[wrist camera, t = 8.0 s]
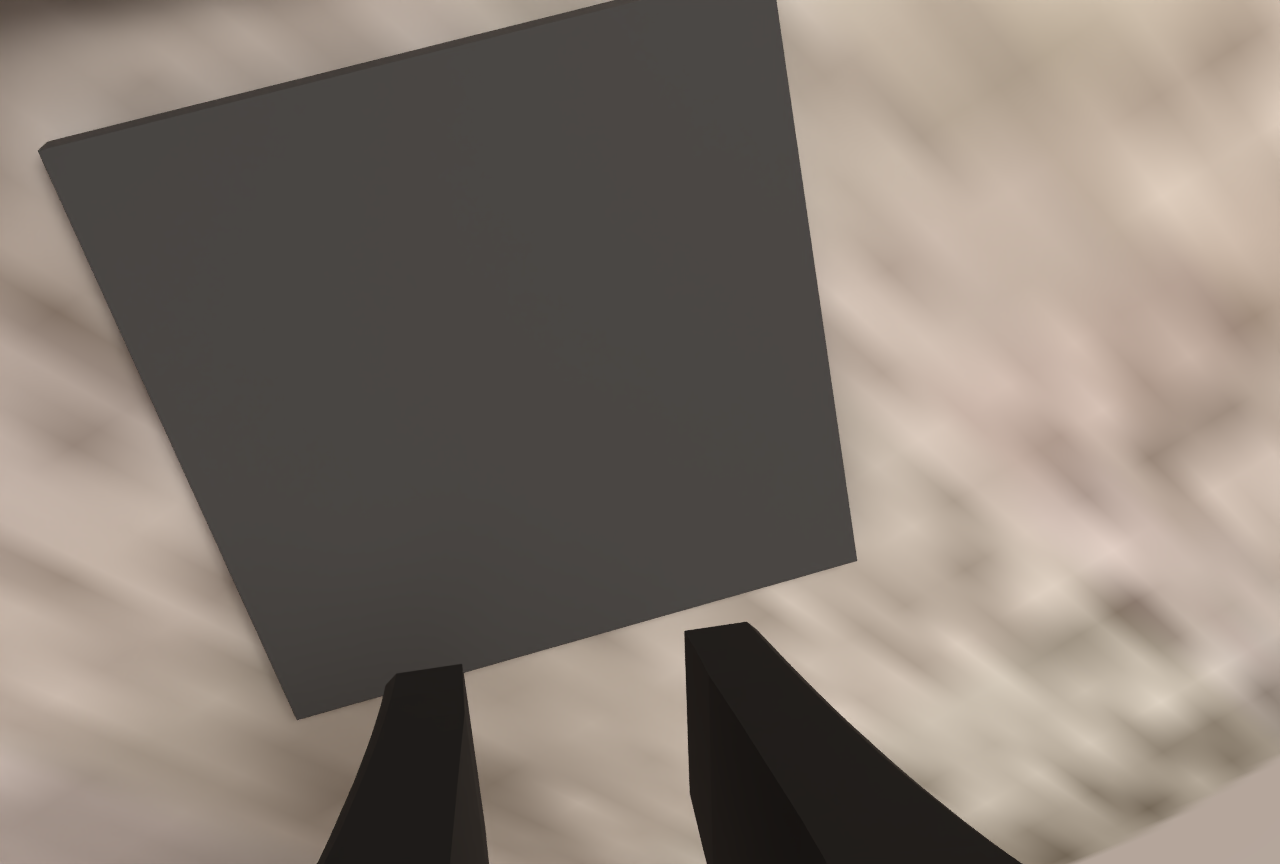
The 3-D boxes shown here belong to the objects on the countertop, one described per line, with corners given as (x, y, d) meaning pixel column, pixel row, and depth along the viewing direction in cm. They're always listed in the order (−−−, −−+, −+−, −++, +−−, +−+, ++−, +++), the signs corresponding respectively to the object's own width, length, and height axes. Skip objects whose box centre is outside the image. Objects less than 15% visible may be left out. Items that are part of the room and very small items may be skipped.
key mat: (299, 701, 21) (296, 720, 21) (47, 142, 16) (38, 151, 16) (847, 545, 22) (857, 560, 21) (761, -37, 17) (771, -33, 16)
